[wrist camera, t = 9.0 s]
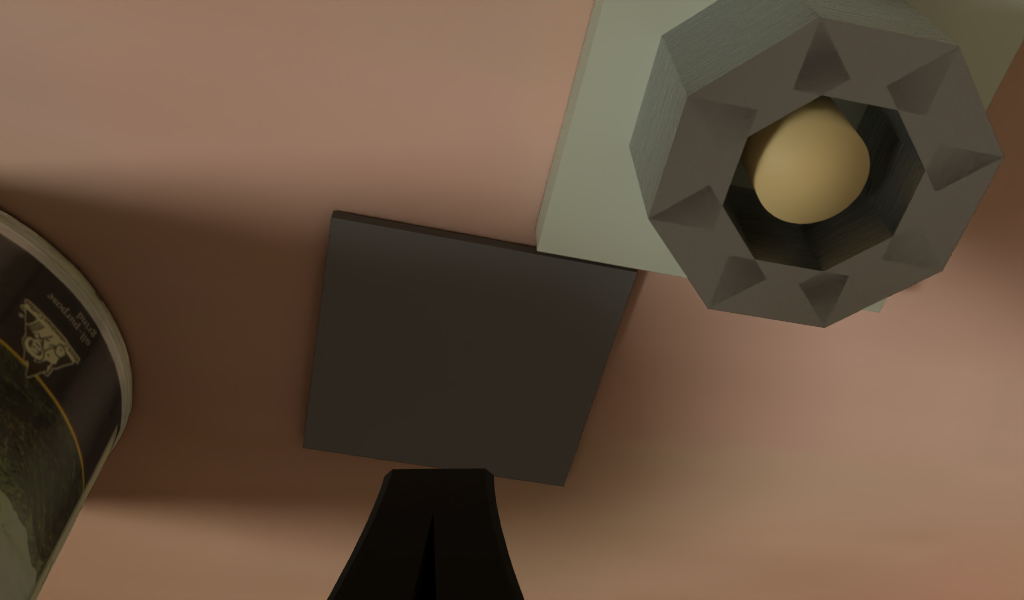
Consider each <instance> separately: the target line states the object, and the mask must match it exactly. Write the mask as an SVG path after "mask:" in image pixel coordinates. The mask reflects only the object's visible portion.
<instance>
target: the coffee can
mask: <svg viewBox="0 0 1024 600" xmlns="http://www.w3.org/2000/svg"><path fill="white" fill-rule="evenodd" d="M131 409H132V371H131V366H130V361H129V356H128V352H127V349H126V345H125V343H124V340H123V338H122V335H121V333H120V331H119V329H118V326H117V324H116V322H115V320H114V318H113V317H112V315H111V313H110V311H109V310H108V308H107V307H106V305H105V304H104V302H103V301H102V299H101V298H100V296H99V295H98V293H97V292H96V290H95V289H94V288H93V286H92V285H91V284H90V282H89V281H88V280H87V279H86V277H85V276H84V275H83V274H82V273H81V272H80V271H79V269H78V268H77V267H76V266H74V265H73V264H72V263H71V262H70V261H69V260H68V259H66V258H65V257H64V256H63V255H62V254H61V253H60V252H59V251H58V250H57V249H56V248H55V247H54V246H52V245H51V244H50V243H49V242H47V241H46V240H45V239H44V238H43V237H41V236H40V235H39V234H37V233H36V232H34V231H33V230H32V229H30V228H29V227H27V226H26V225H24V224H23V223H21V222H20V221H18V220H17V219H15V218H13V217H12V216H10V215H9V214H7V213H5V212H4V211H2V210H0V600H36V599H37V597H38V595H39V593H40V591H41V588H42V586H43V584H44V582H45V580H46V578H47V576H48V574H49V572H50V570H51V568H52V566H53V564H54V563H55V561H56V559H57V557H58V555H59V553H60V551H61V549H62V547H63V545H64V543H65V541H66V539H67V537H68V535H69V533H70V531H71V529H72V527H73V525H74V523H75V521H76V518H77V516H78V514H79V512H80V510H81V508H82V506H83V504H84V502H85V500H86V498H87V496H88V494H89V492H90V490H91V488H92V486H93V484H94V482H95V481H96V479H97V477H98V475H99V473H100V471H101V469H102V467H103V465H104V463H105V461H106V459H107V457H108V456H109V454H110V453H111V451H112V450H113V448H114V447H115V445H116V444H117V442H118V440H119V439H120V437H121V435H122V434H123V431H124V429H125V427H126V424H127V421H128V417H129V414H130V412H131Z"/></svg>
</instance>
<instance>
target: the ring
mask: <svg viewBox="0 0 1024 600" xmlns="http://www.w3.org/2000/svg"><path fill="white" fill-rule="evenodd" d="M821 95H823V96H828V97H833V98H838V99H844V100H849V101H854V102H859V103H864V104H868V106H867V108H866V110H865V113H864V115H863V117H862V119H861V122H860V124H859V126H858V129H857V131H856V132H857V133H858V135H859V136H860V137H861V139H862V140H863V142H864V143H865V145H866V147H867V150H868V153H869V158H870V169H869V175H868V178H867V181H866V183H865V186H864V188H863V189H862V191H861V193H860V194H859V195H858V197H857V198H856V199H855V200H854V201H853V202H852V203H851V204H850V205H849V206H848V207H847V208H846V209H844V210H843V211H841V212H840V213H838V214H836V215H835V216H833V217H830V218H828V219H826V220H823V221H819V222H815V223H807V224H797V223H790V222H786V221H783V220H781V219H778V218H777V217H775V216H773V215H772V214H771V213H769V212H768V211H767V210H766V209H765V208H764V206H763V205H762V203H761V202H760V200H759V198H758V196H757V194H756V191H755V189H750V188H744V187H739V186H733V185H730V184H731V181H732V178H733V175H734V173H735V170H736V167H737V165H738V162H739V159H740V157H741V154H742V151H743V148H744V146H745V143H746V140H747V138H748V137H749V136H751V135H752V134H754V133H756V132H758V131H759V130H761V129H763V128H765V127H766V126H768V125H770V124H772V123H774V122H775V121H777V120H779V119H781V118H782V117H784V116H786V115H788V114H789V113H791V112H793V111H795V110H797V109H798V108H800V107H802V106H804V105H805V104H807V103H809V102H811V101H812V100H814V99H816V98H818V97H819V96H821ZM629 148H630V152H631V156H632V160H633V163H634V167H635V171H636V175H637V179H638V182H639V186H640V190H641V194H642V198H643V201H644V205H645V209H646V213H647V217H648V220H649V221H650V223H651V224H652V226H653V227H654V229H655V230H656V232H657V233H658V235H659V236H660V238H661V239H662V241H663V242H664V244H665V245H666V246H667V248H668V249H669V251H670V252H671V254H672V255H673V257H674V258H675V260H676V261H677V263H678V264H679V266H680V267H681V269H682V270H683V272H684V273H685V275H686V276H687V278H688V279H689V281H690V282H691V284H692V285H693V287H694V288H695V290H696V291H697V293H698V294H699V296H700V297H701V299H702V300H703V302H704V303H705V305H706V306H707V308H708V309H713V310H719V311H725V312H731V313H737V314H743V315H749V316H755V317H761V318H767V319H773V320H780V321H786V322H792V323H798V324H804V325H810V326H816V327H822V328H825V327H827V326H829V325H831V324H833V323H836V322H838V321H840V320H842V319H844V318H846V317H848V316H850V315H852V314H854V313H856V312H858V311H860V310H862V309H864V308H866V307H869V306H871V305H873V304H875V303H877V302H879V301H881V300H883V299H885V298H887V297H889V296H891V295H893V294H895V293H897V292H899V291H901V290H904V289H906V288H908V287H910V286H912V285H914V284H916V283H918V282H920V281H922V280H924V279H926V278H928V277H930V276H932V275H934V274H937V273H939V272H941V271H943V269H944V267H945V265H946V264H947V262H948V260H949V258H950V256H951V254H952V252H953V251H954V249H955V247H956V245H957V243H958V241H959V239H960V238H961V236H962V234H963V232H964V230H965V228H966V227H967V225H968V223H969V221H970V219H971V217H972V215H973V214H974V212H975V210H976V208H977V206H978V204H979V203H980V201H981V199H982V197H983V195H984V193H985V191H986V190H987V188H988V186H989V184H990V182H991V180H992V179H993V177H994V175H995V173H996V171H997V169H998V167H999V166H1000V164H1001V162H1002V160H1003V158H1004V155H1003V153H1002V150H1001V148H1000V145H999V143H998V140H997V138H996V136H995V133H994V131H993V128H992V126H991V123H990V121H989V118H988V116H987V113H986V111H985V108H984V106H983V103H982V101H981V98H980V96H979V94H978V91H977V89H976V86H975V84H974V81H973V79H972V76H971V74H970V71H969V69H968V66H967V64H966V61H965V59H964V56H963V54H962V52H961V49H960V47H959V45H958V44H957V43H955V42H954V41H953V40H952V39H951V38H949V37H948V36H947V35H946V34H945V33H943V32H942V31H941V30H940V29H939V28H938V27H936V26H935V25H934V24H933V23H932V22H930V21H929V20H928V19H927V18H926V17H924V16H923V15H922V14H921V13H920V12H919V11H917V10H916V9H915V8H914V7H913V6H911V5H910V4H909V3H908V2H907V1H906V0H718V1H716V2H715V3H713V4H711V5H710V6H708V7H706V8H705V9H703V10H702V11H700V12H698V13H697V14H695V15H694V16H692V17H690V18H689V19H687V20H686V21H684V22H682V23H681V24H679V25H678V26H676V27H674V28H673V29H671V30H669V31H668V32H666V33H665V34H663V35H662V36H661V39H660V43H659V46H658V49H657V53H656V56H655V60H654V63H653V66H652V70H651V73H650V77H649V80H648V83H647V87H646V90H645V94H644V97H643V100H642V104H641V107H640V111H639V114H638V117H637V121H636V124H635V127H634V131H633V134H632V138H631V141H630V144H629Z"/></svg>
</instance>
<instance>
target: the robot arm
mask: <svg viewBox="0 0 1024 600" xmlns="http://www.w3.org/2000/svg"><path fill="white" fill-rule="evenodd" d="M327 600H524V598H523V595H522V592H521V589H520V587H519V584H518V581H517V578H516V575H515V572H514V570H513V566H512V563H511V560H510V557H509V554H508V550H507V547H506V543H505V539H504V535H503V532H502V528H501V524H500V519H499V515H498V509H497V504H496V497H495V489H494V475H493V474H492V473H491V472H489V471H488V470H487V469H486V468H474V469H393V470H392V471H390V472H389V473H388V474H387V475H385V477H384V480H383V483H382V486H381V489H380V492H379V494H378V497H377V499H376V502H375V504H374V507H373V509H372V512H371V514H370V516H369V519H368V521H367V523H366V525H365V527H364V530H363V532H362V534H361V536H360V538H359V540H358V542H357V544H356V546H355V548H354V550H353V552H352V554H351V556H350V558H349V560H348V562H347V564H346V566H345V567H344V569H343V571H342V573H341V575H340V577H339V579H338V580H337V582H336V584H335V586H334V588H333V590H332V592H331V594H330V595H329V597H328V599H327Z"/></svg>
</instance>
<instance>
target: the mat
mask: <svg viewBox="0 0 1024 600" xmlns="http://www.w3.org/2000/svg"><path fill="white" fill-rule="evenodd" d="M636 275H637V269H635V268H629V267H623V266H618V265H612V264H607V263H601V262H596V261H590V260H585V259H579V258H574V257H568V256H563V255H557V254H551V253H546V252H540V251H537V248H536V247H531V246H525V245H520V244H514V243H508V242H503V241H497V240H492V239H486V238H481V237H475V236H470V235H464V234H459V233H453V232H448V231H442V230H437V229H431V228H426V227H420V226H415V225H409V224H404V223H398V222H392V221H387V220H381V219H376V218H370V217H365V216H359V215H354V214H348V213H343V212H337V211H333V214H332V217H331V225H330V233H329V241H328V249H327V257H326V265H325V273H324V282H323V290H322V298H321V306H320V314H319V322H318V330H317V338H316V346H315V354H314V362H313V370H312V379H311V387H310V395H309V403H308V411H307V419H306V427H305V435H304V443H303V448H308V449H314V450H321V451H328V452H335V453H341V454H348V455H355V456H362V457H368V458H375V459H382V460H388V461H395V462H402V463H409V464H415V465H422V466H429V467H436V468H442V469H474V468H486V469H487V470H488V471H489V472H491V473H492V474H493V475H494V476H496V477H503V478H509V479H516V480H523V481H530V482H536V483H543V484H550V485H557V486H563V487H564V484H565V481H566V478H567V475H568V472H569V469H570V467H571V464H572V461H573V458H574V455H575V452H576V449H577V446H578V443H579V440H580V437H581V435H582V432H583V429H584V426H585V423H586V420H587V417H588V414H589V411H590V408H591V405H592V403H593V400H594V397H595V394H596V391H597V388H598V385H599V382H600V379H601V376H602V374H603V371H604V368H605V365H606V362H607V359H608V356H609V353H610V350H611V347H612V344H613V342H614V339H615V336H616V333H617V330H618V327H619V324H620V321H621V318H622V315H623V312H624V310H625V307H626V304H627V301H628V298H629V295H630V292H631V289H632V286H633V283H634V280H635V278H636Z"/></svg>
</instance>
